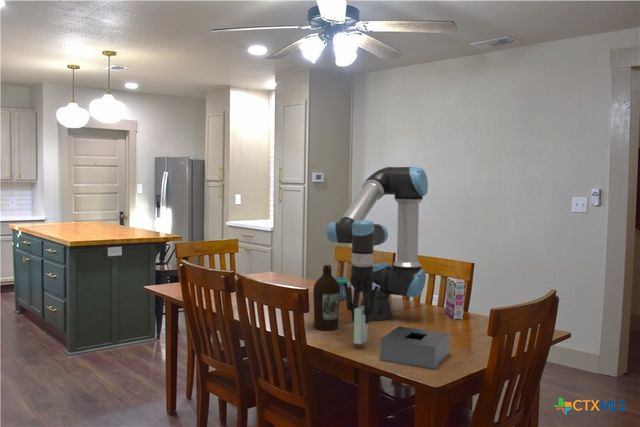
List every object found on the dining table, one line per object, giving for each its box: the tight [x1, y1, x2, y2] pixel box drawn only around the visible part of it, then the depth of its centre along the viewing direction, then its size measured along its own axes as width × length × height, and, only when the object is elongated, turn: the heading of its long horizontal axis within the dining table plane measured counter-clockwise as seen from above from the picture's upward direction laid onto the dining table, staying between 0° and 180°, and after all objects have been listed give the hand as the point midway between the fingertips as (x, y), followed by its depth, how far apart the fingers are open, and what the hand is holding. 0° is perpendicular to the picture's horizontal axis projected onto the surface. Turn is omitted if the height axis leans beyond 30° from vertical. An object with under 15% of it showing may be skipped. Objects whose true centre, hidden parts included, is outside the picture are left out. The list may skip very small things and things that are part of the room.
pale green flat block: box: [353, 305, 368, 345], centre depth 190 cm, size 2×6×12 cm, turn 153°
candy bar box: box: [445, 277, 466, 321], centre depth 237 cm, size 11×5×16 cm, turn 5°
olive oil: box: [312, 264, 341, 332], centre depth 215 cm, size 11×11×25 cm
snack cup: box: [333, 276, 350, 301], centre depth 269 cm, size 16×10×10 cm
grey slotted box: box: [379, 326, 451, 370], centre depth 181 cm, size 18×18×7 cm
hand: (360, 331), depth 190 cm, fingers closed on pale green flat block, 2 cm apart
